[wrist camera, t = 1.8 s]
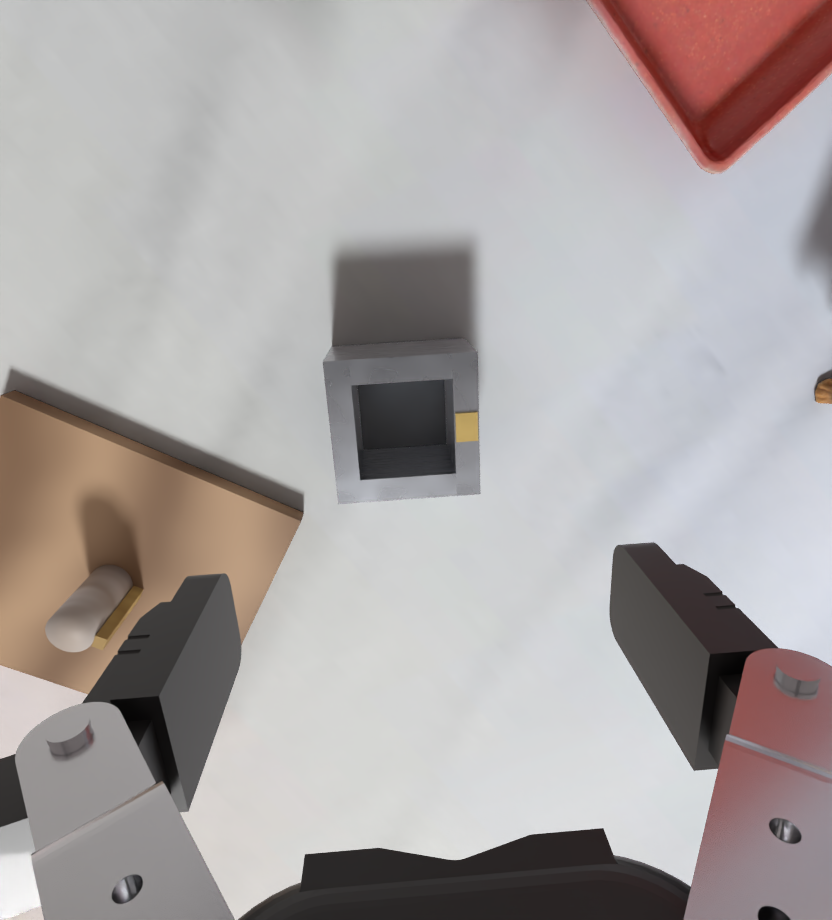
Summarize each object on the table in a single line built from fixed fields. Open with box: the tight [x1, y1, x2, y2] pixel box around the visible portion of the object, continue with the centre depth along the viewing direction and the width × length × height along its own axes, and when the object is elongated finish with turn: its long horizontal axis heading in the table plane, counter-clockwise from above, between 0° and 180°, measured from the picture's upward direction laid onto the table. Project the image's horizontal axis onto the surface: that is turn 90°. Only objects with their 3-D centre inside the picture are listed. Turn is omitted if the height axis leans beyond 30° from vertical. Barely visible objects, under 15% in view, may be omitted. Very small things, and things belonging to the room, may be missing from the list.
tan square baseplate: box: [0, 390, 303, 694], centre depth 27 cm, size 14×14×5 cm
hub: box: [323, 338, 480, 504], centre depth 25 cm, size 6×6×4 cm
